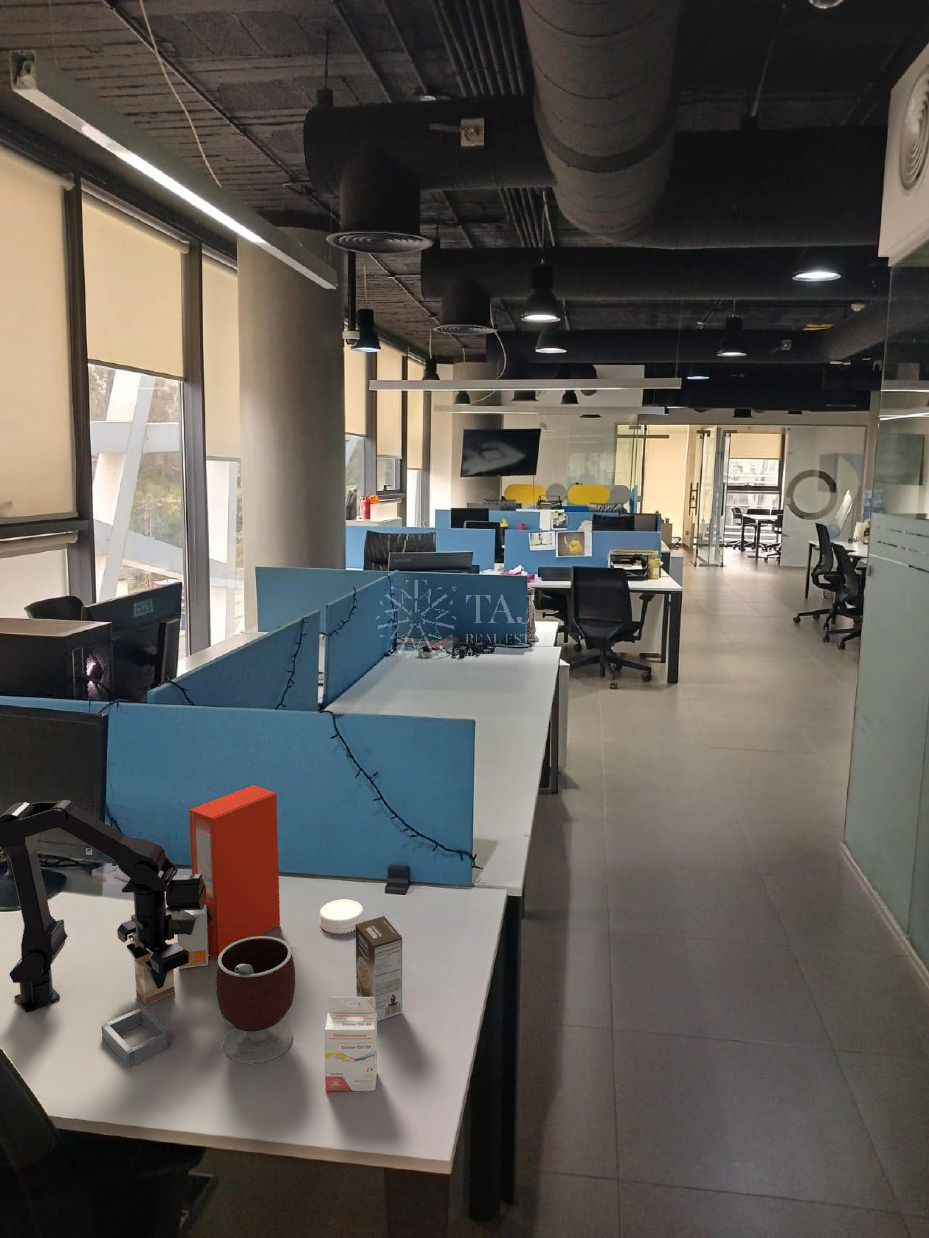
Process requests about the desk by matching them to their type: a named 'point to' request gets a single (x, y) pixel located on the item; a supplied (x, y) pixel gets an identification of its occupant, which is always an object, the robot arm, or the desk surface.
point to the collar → (144, 1049)
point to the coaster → (341, 916)
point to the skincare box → (196, 940)
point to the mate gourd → (256, 997)
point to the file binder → (237, 865)
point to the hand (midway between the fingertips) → (155, 982)
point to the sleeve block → (151, 982)
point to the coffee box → (379, 965)
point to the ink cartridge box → (351, 1045)
